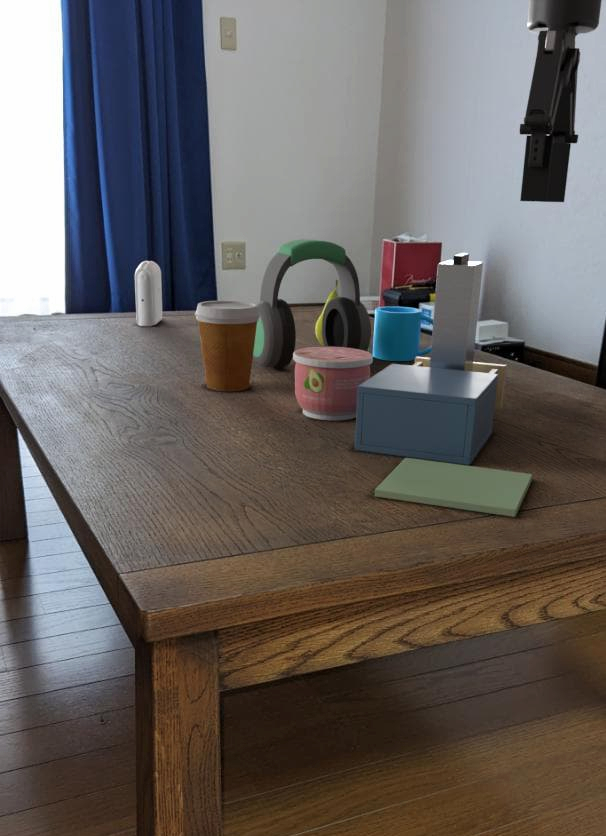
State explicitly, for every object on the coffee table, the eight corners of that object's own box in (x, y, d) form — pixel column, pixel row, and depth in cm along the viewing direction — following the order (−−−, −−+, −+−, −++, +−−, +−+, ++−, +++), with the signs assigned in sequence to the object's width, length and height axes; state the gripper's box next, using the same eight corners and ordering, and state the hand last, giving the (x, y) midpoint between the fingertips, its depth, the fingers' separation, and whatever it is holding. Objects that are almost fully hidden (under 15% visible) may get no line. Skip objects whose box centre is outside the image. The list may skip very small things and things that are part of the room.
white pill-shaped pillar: (155, 326, 183) (153, 263, 178) (134, 326, 183) (131, 263, 178) (164, 319, 192) (162, 259, 187) (144, 318, 192) (142, 258, 187)
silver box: (469, 401, 121) (483, 253, 113) (460, 411, 115) (475, 257, 108) (436, 397, 122) (448, 251, 115) (426, 407, 117) (438, 255, 110)
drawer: (420, 391, 130) (424, 351, 128) (506, 400, 126) (511, 359, 124) (388, 419, 115) (391, 374, 113) (484, 430, 111) (489, 384, 109)
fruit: (317, 350, 163) (319, 282, 158) (312, 345, 168) (314, 278, 164) (348, 350, 164) (351, 283, 159) (342, 345, 169) (345, 279, 164)
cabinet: (388, 421, 118) (391, 363, 115) (491, 433, 113) (498, 374, 110) (354, 450, 105) (357, 386, 102) (469, 465, 101) (476, 398, 98)
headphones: (268, 375, 142) (269, 242, 135) (243, 362, 151) (244, 237, 144) (373, 368, 150) (380, 242, 142) (344, 356, 159) (349, 237, 151)
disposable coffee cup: (217, 377, 140) (216, 298, 135) (271, 384, 136) (272, 303, 131) (183, 389, 132) (181, 305, 127) (239, 397, 128) (239, 311, 123)
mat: (531, 481, 96) (532, 474, 96) (515, 517, 86) (516, 509, 85) (404, 464, 100) (405, 457, 100) (374, 496, 90) (374, 489, 90)
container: (280, 406, 123) (281, 348, 120) (349, 401, 127) (352, 344, 124) (309, 425, 114) (311, 363, 111) (383, 420, 118) (386, 359, 115)
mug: (370, 359, 157) (372, 311, 154) (375, 351, 164) (377, 305, 161) (439, 363, 155) (443, 315, 152) (441, 355, 162) (445, 309, 159)
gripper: (548, 12, 108) (529, 201, 115) (508, -36, 86) (487, 200, 94) (613, 9, 105) (589, 202, 113) (589, -42, 83) (561, 201, 91)
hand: (543, 202), depth 103 cm, fingers open, 13 cm apart
